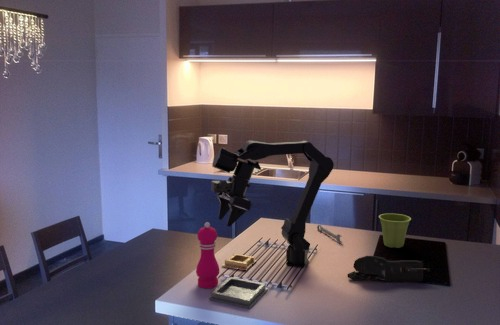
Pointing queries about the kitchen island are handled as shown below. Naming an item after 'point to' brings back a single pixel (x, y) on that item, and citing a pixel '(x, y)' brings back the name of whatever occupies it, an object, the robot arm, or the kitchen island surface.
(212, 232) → the pepper mill
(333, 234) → the combination wrench
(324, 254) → the kitchen island surface
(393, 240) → the plant pot
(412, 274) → the black glove
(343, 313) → the kitchen island surface
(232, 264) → the brass square tray
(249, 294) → the graphite square tray
